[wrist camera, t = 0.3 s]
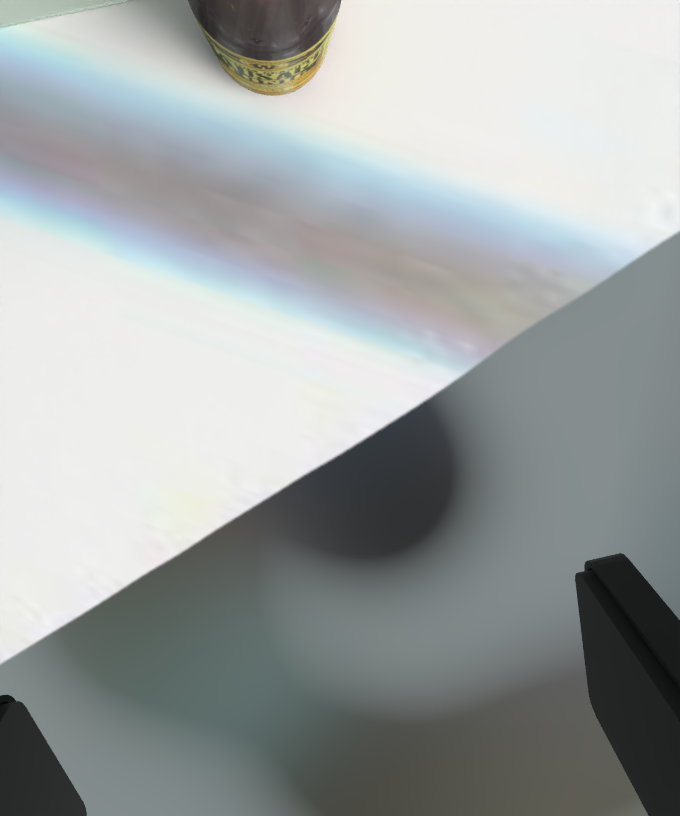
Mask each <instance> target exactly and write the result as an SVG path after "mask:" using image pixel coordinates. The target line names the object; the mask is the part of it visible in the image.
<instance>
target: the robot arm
mask: <svg viewBox="0 0 680 816" xmlns="http://www.w3.org/2000/svg"><path fill="white" fill-rule="evenodd" d="M575 581H576V590H577V598H578V606H579V615H580V623H581V632H582V641H583V649H584V658H585V666H586V675H587V684H588V692H589V697H590V701H591V704H592V707H593V709H594V712H595V714H596V717H597V719H598V721H599V723H600V724H601V727H602V728H603V730H604V732H605V734H606V736H607V738H608V740H609V742H610V743H611V745H612V747H613V749H614V751H615V753H616V755H617V757H618V759H619V760H620V762H621V764H622V766H623V768H624V770H625V772H626V774H627V776H628V777H629V779H630V781H631V783H632V785H633V787H634V789H635V791H636V793H637V794H638V796H639V798H640V800H641V802H642V804H643V806H644V808H645V810H646V811H647V813H648V815H649V816H680V620H679V619H678V618H677V617H676V616H675V614H674V613H673V612H672V611H671V609H670V608H669V607H668V606H667V605H666V603H665V602H664V601H663V600H662V599H661V598H660V596H659V595H658V594H657V593H656V591H655V590H654V589H653V588H652V587H651V585H650V584H649V583H648V582H647V581H646V579H645V578H644V577H643V576H642V575H641V573H640V572H639V571H638V570H637V569H636V567H635V566H634V565H633V564H632V563H631V561H630V560H629V559H628V558H627V557H626V556H625V555H624V554H621V553H620V554H615V555H611V556H606V557H602V558H598V559H593V560H589V561H586V562H585V571H584V572H579V573H576V576H575ZM86 815H87V814H86V808H85V805H84V803H83V801H82V800H81V798H80V796H79V795H78V793H77V791H76V789H75V788H74V786H73V785H72V783H71V781H70V780H69V778H68V776H67V775H66V773H65V771H64V770H63V768H62V766H61V765H60V763H59V761H58V760H57V758H56V756H55V755H54V753H53V752H52V750H51V748H50V746H49V745H48V743H47V741H46V740H45V738H44V736H43V735H42V733H41V731H40V730H39V728H38V727H37V725H36V723H35V722H34V720H33V718H32V717H31V715H30V713H29V712H28V710H27V708H26V707H25V705H24V704H23V703H22V702H19V701H17V702H16V700H15V699H14V698H13V697H12V696H9V695H1V696H0V816H86Z"/></svg>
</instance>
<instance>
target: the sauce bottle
mask: <svg viewBox="0 0 680 816" xmlns="http://www.w3.org/2000/svg"><path fill="white" fill-rule="evenodd" d="M188 1H189V4H190V6H191V9H192V11H193V13H194V15H195V17H196V19H197V21H198V24H199V25H200V26H201V28H202V30H203V32H204V34H205V36H206V38H207V40H208V41H209V43H210V45H211V47H212V48H213V50H214V52H215V54H216V56H217V57H218V59H219V61H220V63H221V64H222V66H223V68H224V69H225V71H226V72H227V73H228V74H229V75H230V76H231V77H232V78H233V79H234V80H235V81H236V82H237V83H239V84H240V85H242V86H243V87H245V88H247V89H248V90H251V91H253V92H256V93H259V94H264V95H284V94H288V93H291V92H294V91H296V90H298V89H299V88H301V87H302V86H304V85H305V84H306V83H307V82H308V81H309V80H311V79H312V77H313V76H314V75H315V74H316V72H317V71H318V69H319V68H320V66H321V64H322V62H323V60H324V57H325V54H326V51H327V47H328V44H329V41H330V38H331V35H332V32H333V29H334V26H335V22H336V18H337V15H338V12H339V8H340V4H341V0H188Z"/></svg>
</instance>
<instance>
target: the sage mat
mask: <svg viewBox="0 0 680 816" xmlns="http://www.w3.org/2000/svg"><path fill="white" fill-rule="evenodd" d="M127 1H131V0H0V28H2V27H7V26H11V25H16V24H21V23H26V22H31V21H35V20H40V19H45V18H50V17H55V16H59V15H64V14H69V13H74V12H79V11H83V10H88V9H93V8H98V7H103V6H107V5H112V4H117V3H122V2H127Z"/></svg>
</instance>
